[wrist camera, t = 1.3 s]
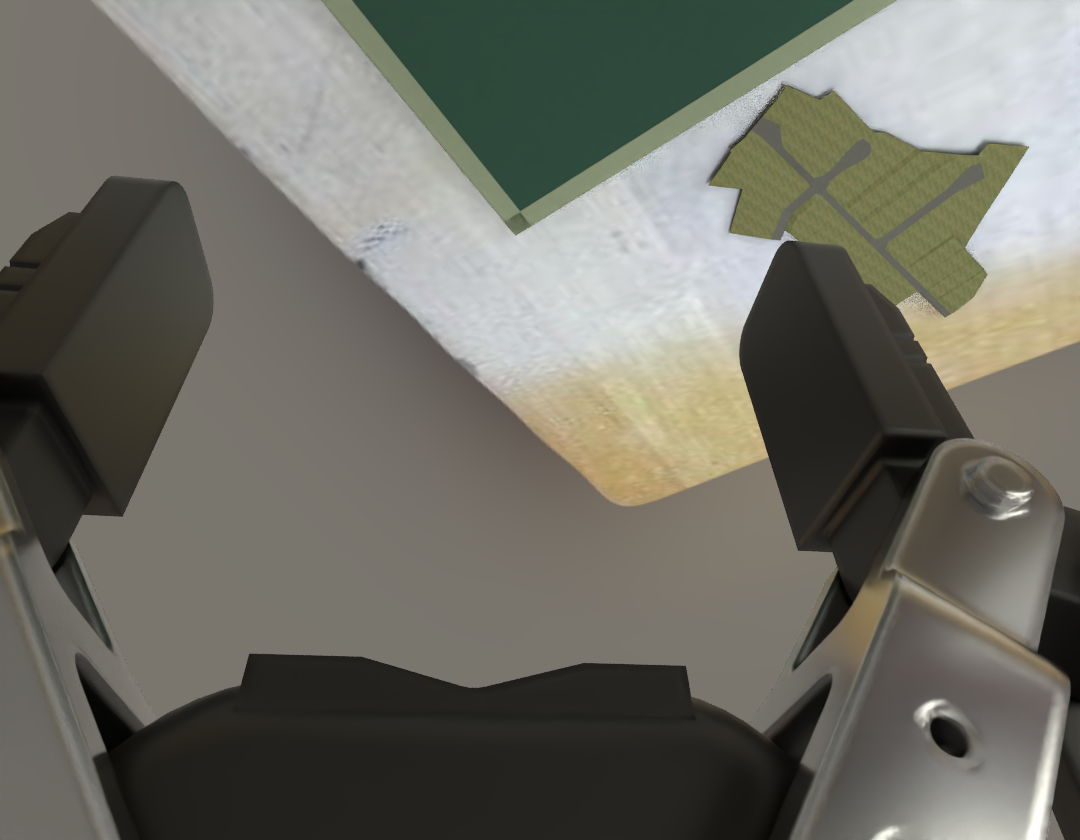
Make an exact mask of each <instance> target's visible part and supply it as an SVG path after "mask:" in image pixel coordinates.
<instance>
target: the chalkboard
mask: <svg viewBox="0 0 1080 840" xmlns="http://www.w3.org/2000/svg"><path fill="white" fill-rule="evenodd" d="M321 1H322V2H323V3H324V4H325V6H326V7H327V8H328V9H329V10H330V12H331V13H332V14H333V15H334V16H335V18H336V19H337V20H338V21H339V22H340V24H341V25H342V26H343V27H344V29H345V30H346V31H347V32H348V33H349V35H350V36H351V37H352V38H353V39H354V41H355V42H356V43H357V44H358V45H359V47H360V48H361V49H362V50H363V51H364V53H365V54H366V55H367V56H368V58H369V59H370V60H371V61H372V62H373V64H374V65H375V66H376V67H377V68H378V70H379V71H380V72H381V73H382V74H383V76H384V77H385V78H386V79H387V81H388V82H389V83H390V84H391V85H392V87H393V88H394V89H395V90H396V91H397V93H398V94H399V95H400V96H401V97H402V99H403V100H404V101H405V102H406V104H407V105H408V106H409V107H410V108H411V110H412V111H413V112H414V113H415V114H416V116H417V117H418V118H419V119H420V120H421V122H422V123H423V124H424V125H425V127H426V128H427V129H428V130H429V131H430V133H431V134H432V135H433V136H434V137H435V139H436V140H437V141H438V142H439V143H440V145H441V146H442V147H443V148H444V150H445V151H446V152H447V153H448V154H449V156H450V157H451V158H452V159H453V160H454V162H455V163H456V164H457V165H458V166H459V168H460V169H461V170H462V171H463V172H464V174H465V175H466V176H467V177H468V179H469V180H470V181H471V182H472V183H473V185H474V186H475V187H476V188H477V189H478V191H479V192H480V193H481V194H482V195H483V197H484V198H485V199H486V200H487V202H488V203H489V204H490V205H491V206H492V208H493V209H494V210H495V211H496V212H497V214H498V215H499V216H500V217H501V218H502V220H503V221H504V222H505V223H506V225H507V226H508V227H509V228H510V229H511V231H512V232H513V233H514V234H515V235H517V234H519V233H521V232H522V231H524V230H526V229H527V228H529V227H530V226H532V225H534V224H535V223H537V222H539V221H540V220H542V219H543V218H545V217H547V216H548V215H550V214H551V213H553V212H555V211H556V210H558V209H560V208H561V207H563V206H564V205H566V204H568V203H569V202H571V201H573V200H574V199H576V198H577V197H579V196H581V195H582V194H584V193H585V192H587V191H589V190H590V189H592V188H594V187H595V186H597V185H598V184H600V183H602V182H603V181H605V180H607V179H608V178H610V177H611V176H613V175H615V174H616V173H618V172H619V171H621V170H623V169H624V168H626V167H628V166H629V165H631V164H632V163H634V162H636V161H637V160H639V159H641V158H642V157H644V156H645V155H647V154H649V153H650V152H652V151H654V150H655V149H657V148H658V147H660V146H662V145H663V144H665V143H666V142H668V141H670V140H671V139H673V138H675V137H676V136H678V135H679V134H681V133H683V132H684V131H686V130H688V129H689V128H691V127H692V126H694V125H696V124H697V123H699V122H700V121H702V120H704V119H705V118H707V117H709V116H710V115H712V114H713V113H715V112H717V111H718V110H720V109H722V108H723V107H725V106H726V105H728V104H730V103H731V102H733V101H734V100H736V99H738V98H739V97H741V96H743V95H744V94H746V93H747V92H749V91H751V90H752V89H754V88H756V87H757V86H759V85H760V84H762V83H764V82H765V81H767V80H768V79H770V78H772V77H773V76H775V75H777V74H778V73H780V72H781V71H783V70H785V69H786V68H788V67H790V66H791V65H793V64H794V63H796V62H798V61H799V60H801V59H802V58H804V57H806V56H807V55H809V54H811V53H812V52H814V51H815V50H817V49H819V48H820V47H822V46H824V45H825V44H827V43H828V42H830V41H832V40H833V39H835V38H836V37H838V36H840V35H841V34H843V33H845V32H846V31H848V30H849V29H851V28H853V27H854V26H856V25H858V24H859V23H861V22H862V21H864V20H866V19H867V18H869V17H870V16H872V15H874V14H875V13H877V12H879V11H880V10H882V9H883V8H885V7H887V6H888V5H890V4H892V3H893V2H895V1H896V0H321Z"/></svg>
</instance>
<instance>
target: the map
mask: <svg viewBox="0 0 1080 840" xmlns="http://www.w3.org/2000/svg"><path fill="white" fill-rule="evenodd" d="M1028 148H1029V147H1027V146H1015V145H1002V144H988V145H987V146H986V147H985V148H984V149H983V150H982V151H981V153H980V154H979V155H957V154H948V153H938V152H922V151H921V150H919V149H917V148H915V147H913V146H911V145H909V144H907V143H905V142H903V141H901V140H899V139H897V138H895V137H894V136H892V135H890V134H887V133H885V132H878V133H874V132H873V131H872V130H871V129H870V128H869V127H868V126H867V125H866V124H865V123H864V122H863V121H862V120H861V119H860V118H859V117H858V116H857V115H856V114H855V112H854V111H853V110H852V109H851V108H850V107H849V106H848V105H847V104H846V103H845V102H844V101H843V100H842V99H841V98H840V97H839V96H838V95H837V93H836V92H835V91H833V92H832V93H830V94H829V95H827V96H825V97H824V98H822V99H821V100H819V99H817V98H814V97H812V96H810V95H807V94H805V93H803V92H800V91H798V90H795V89H793V88H791V87H788V86H786V87H785V89H784V90H783V92H782V93H781V95H780V96H779V98H778V99H777V100H776V101H775V102H774V104H773V105H772V106H771V107H770V108H769V109H768V111H767V112H766V113H765V114H764V115H763V116H762V118H761V119H760V120H759V121H758V122H757V124H756V125H755V126H754V127H753V128H752V129H751V131H750V132H749V133H748V134H747V136H746V137H745V138H744V139H743V140H742V141H741V142H739V143H738V144H737V145H736V146H735V147H734V148H733V149H731V150H730V152H732V153H731V154H730V155H729V157H728V158H727V160H726V161H725V163H724V164H723V165H722V167H721V168H720V170H719V171H718V173H717V174H716V175H715V177H714V178H713V180H712V181H711V183H710V184H709V185H708V186H717V187H726V188H735V189H743V190H742V193H741V196H740V199H739V202H738V206H737V209H736V212H735V216H734V219H733V223H732V226H731V230H730V233H733V234H740V235H746V236H752V237H759V238H765V239H772V240H781V237H782V235H783V233H784V231H787V232H788V233H790V234H791V235H792V236H793V237H794V238H796V239H797V240H798V241H800V242H810V243H821V244H832V245H840V246H842V247H843V248H845V250H846V251H847V253H848V255H849V256H850V258H851V260H852V262H853V264H854V265H855V267H856V269H857V271H858V273H859V274H860V276H861V278H862V280H863V282H864V284H872V285H873V286H874V287H875V288H876V289H877V290H878V291H879V292H880V293H882V294H883V295H884V296H885V297H886V298H887V299H888V300H889V301H891V302H892V303H893V304H894V305H897V304H898V303H900V302H901V301H903V300H905V299H906V298H908V297H909V296H911V295H912V294H914V293H915V292H917V291H918V292H919V293H920V294H921V295H922V296H923V297H924V298H926V299H927V300H928V301H929V302H930V303H931V304H932V305H933V306H934V307H935V308H936V309H937V310H938V311H939V312H940V313H941V314H942V315H943V316H944V317H947V316H948V315H950V314H951V313H953V312H955V311H956V310H958V309H959V308H960V307H962V306H963V305H964V304H966V303H967V302H968V301H969V300H971V299H972V298H973V297H974V296H975V294H976V292H977V291H978V289H979V288H980V286H981V284H982V283H983V281H984V279H985V278H986V276H987V273H986V272H985V270H984V269H983V268H982V267H981V266H980V265H979V264H978V262H977V261H976V260H975V259H974V258H973V257H972V256H971V255H970V254H969V252H968V251H967V250H966V249H965V246H966V245H967V243H968V241H969V240H970V238H971V236H972V235H973V233H974V232H975V230H976V228H977V227H978V225H979V223H980V222H981V220H982V219H983V217H984V215H985V214H986V212H987V211H988V209H989V208H990V206H991V205H992V203H993V202H994V200H995V199H996V197H997V196H998V194H999V193H1000V191H1001V190H1002V188H1003V187H1004V185H1005V184H1006V182H1007V181H1008V179H1009V178H1010V176H1011V174H1012V173H1013V171H1014V170H1015V168H1016V167H1017V165H1018V164H1019V162H1020V160H1021V159H1022V157H1023V156H1024V154H1025V153H1026V151H1027V149H1028ZM960 243H961V244H962V245H961V244H960ZM887 244H888V245H887Z"/></svg>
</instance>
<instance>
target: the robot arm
mask: <svg viewBox="0 0 1080 840" xmlns="http://www.w3.org/2000/svg"><path fill="white" fill-rule="evenodd" d="M212 314H213V288H212V282H211V278H210V274H209V271H208V267H207V263H206V260H205V256H204V253H203V249H202V246H201V242H200V238H199V235H198V231H197V228H196V224H195V221H194V217H193V213H192V210H191V206H190V203H189V200H188V197H187V194H186V192H185V190H184V189H183V187H182V186H181V185H180V184H179V183H177V182H174V181H164V180H154V179H142V178H132V177H121V176H111V177H110V178H108V179H107V180H106V181H105V182H104V183H103V185H102V186H101V187H100V189H99V190H98V191H97V192H96V194H95V195H94V196H93V197H92V199H91V200H90V201H89V203H88V204H87V205H86V206H85V208H84V209H83V210H82V212H81V213H74V212H69V213H67V214H65V215H63V216H62V217H60V218H58V219H57V220H55V221H53V222H51V223H50V224H48V225H46V226H45V227H43V228H41V229H39V230H38V231H36V232H34V233H33V234H31V236H30V237H29V238H28V239H27V240H26V242H25V243H24V244H23V245H22V247H21V248H20V249H19V250H18V251H17V252H16V254H15V255H14V256H13V257H12V258H11V260H10V267H6V266H5V267H4V268H3V269H2V270H1V272H0V840H1047V834H1048V828H1049V821H1050V816H1051V810H1053V813H1054V815H1055V817H1056V820H1057V822H1058V824H1059V827H1060V829H1061V832H1062V834H1063V837H1064V839H1065V840H1080V511H1077V510H1074V509H1071V508H1068V507H1065V506H1063V505H1062V502H1061V500H1060V497H1059V496H1058V494H1057V492H1056V491H1055V489H1054V488H1053V486H1052V485H1051V484H1050V483H1049V481H1048V480H1047V479H1046V478H1045V477H1044V476H1043V475H1042V474H1041V473H1040V472H1039V471H1038V470H1037V469H1036V468H1035V467H1033V466H1032V465H1031V464H1030V463H1028V462H1027V461H1025V460H1024V459H1022V458H1021V457H1019V456H1018V455H1016V454H1014V453H1013V452H1011V451H1009V450H1007V449H1005V448H1002V447H1000V446H998V445H995V444H992V443H989V442H986V441H982V440H977V439H974V437H973V435H972V434H971V432H970V430H969V429H968V427H967V425H966V423H965V422H964V420H963V418H962V417H961V415H960V413H959V411H958V410H957V408H956V406H955V405H954V403H953V401H952V399H951V398H950V396H949V394H948V392H947V391H946V389H945V387H944V386H943V384H942V382H941V380H940V379H939V377H938V375H937V374H936V372H935V370H934V368H933V367H932V365H931V364H929V363H926V360H927V356H926V355H925V353H924V351H923V349H922V348H921V346H920V344H919V343H918V341H914V334H913V332H912V331H911V329H910V327H909V325H908V324H907V322H906V320H905V319H904V317H903V315H902V313H901V312H900V310H899V309H898V308H897V307H896V306H895V305H894V304H893V303H892V302H891V301H889V300H888V299H887V298H886V297H885V296H884V295H883V294H882V293H880V292H879V291H878V290H877V289H876V288H875V287H874V286H873V285H872V284H864V282H863V280H862V278H861V276H860V274H859V273H858V271H857V269H856V267H855V265H854V264H853V262H852V260H851V258H850V256H849V255H848V253H847V251H846V250H845V248H843V247H842V246H840V245H832V244H821V243H810V242H800V241H786V242H784V243H783V244H782V245H781V246H780V247H779V249H778V250H777V252H776V254H775V256H774V258H773V260H772V262H771V265H770V267H769V269H768V272H767V274H766V276H765V279H764V281H763V283H762V286H761V288H760V290H759V292H758V295H757V297H756V299H755V302H754V304H753V306H752V309H751V311H750V313H749V316H748V318H747V320H746V322H745V325H744V328H743V331H742V335H741V340H740V350H739V357H740V366H741V370H742V373H743V376H744V379H745V382H746V386H747V389H748V392H749V395H750V398H751V402H752V405H753V408H754V411H755V414H756V418H757V421H758V424H759V427H760V430H761V434H762V437H763V440H764V443H765V446H766V450H767V453H768V456H769V459H770V462H771V465H772V468H773V472H774V475H775V478H776V481H777V485H778V488H779V491H780V494H781V497H782V500H783V504H784V507H785V510H786V513H787V517H788V520H789V523H790V526H791V529H792V533H793V536H794V539H795V542H796V545H797V549H798V551H819V552H833V555H834V558H835V561H836V564H837V567H836V568H835V569H834V571H833V572H832V573H831V574H830V576H829V577H828V579H827V580H826V582H825V584H824V586H823V588H822V590H821V592H820V594H819V596H818V598H817V600H816V603H815V604H814V607H813V609H812V611H811V613H810V615H809V617H808V619H807V621H806V623H805V625H804V627H803V629H802V631H801V633H800V635H799V637H798V639H797V641H796V643H795V645H794V647H793V649H792V652H791V653H790V656H789V657H788V659H787V661H786V663H785V666H784V668H783V670H782V672H781V674H780V676H779V678H778V680H777V682H776V683H775V685H774V687H773V688H772V690H771V692H770V694H769V695H768V697H767V698H766V699H765V701H764V702H763V704H762V705H761V706H760V708H759V709H758V711H757V712H756V714H755V716H754V717H753V719H752V720H751V722H750V723H749V724H748V723H746V722H744V721H743V720H741V719H739V718H737V717H736V716H734V715H732V714H730V713H729V712H727V711H725V710H723V709H721V708H719V707H716V706H714V705H712V704H709V703H707V702H705V701H703V700H700V699H697V698H694V697H691V694H690V688H689V682H688V676H687V670H686V666H668V665H634V664H630V665H629V664H598V663H582V664H578V665H574V666H570V667H566V668H561V669H557V670H553V671H549V672H545V673H541V674H536V675H532V676H529V677H524V678H520V679H516V680H511V681H507V682H503V683H499V684H495V685H491V686H487V687H482V688H468V687H463V686H459V685H456V684H452V683H449V682H445V681H442V680H439V679H435V678H432V677H428V676H425V675H422V674H418V673H415V672H411V671H408V670H405V669H401V668H398V667H395V666H391V665H388V664H384V663H381V662H378V661H374V660H371V659H367V658H363V657H348V656H313V655H277V654H276V655H275V654H249V657H248V661H247V664H246V668H245V672H244V676H243V679H242V684H241V685H240V686H236V687H232V688H228V689H224V690H222V691H219V692H216V693H213V694H210V695H208V696H205V697H202V698H199V699H196V700H194V701H192V702H190V703H188V704H186V705H184V706H182V707H180V708H178V709H175V710H173V711H171V712H169V713H167V714H165V715H164V716H162V717H160V718H159V719H157V718H156V717H155V714H154V712H153V710H152V709H151V707H150V705H149V703H148V701H147V699H146V698H145V696H144V694H143V692H142V691H141V689H140V687H139V686H138V684H137V682H136V680H135V679H134V677H133V675H132V673H131V671H130V669H129V667H128V665H127V662H126V660H125V658H124V656H123V653H122V651H121V649H120V646H119V644H118V642H117V639H116V637H115V635H114V632H113V630H112V627H111V625H110V623H109V620H108V618H107V616H106V613H105V611H104V609H103V606H102V604H101V602H100V599H99V597H98V595H97V592H96V590H95V588H94V585H93V583H92V580H91V578H90V576H89V573H88V571H87V569H86V566H85V564H84V562H83V559H82V557H81V555H80V552H79V550H78V548H77V546H76V545H75V543H74V541H73V540H72V539H71V536H72V534H73V532H74V530H75V528H76V526H77V524H78V522H79V520H80V518H81V516H82V515H100V516H123V514H124V512H125V510H126V508H127V506H128V503H129V501H130V499H131V497H132V495H133V492H134V490H135V488H136V486H137V483H138V481H139V479H140V477H141V475H142V473H143V471H144V468H145V466H146V464H147V462H148V460H149V457H150V455H151V453H152V451H153V449H154V446H155V444H156V442H157V440H158V438H159V436H160V433H161V431H162V429H163V427H164V425H165V422H166V420H167V418H168V416H169V414H170V412H171V409H172V407H173V405H174V403H175V400H176V398H177V396H178V394H179V392H180V390H181V387H182V385H183V383H184V381H185V379H186V376H187V374H188V372H189V370H190V367H191V366H192V363H193V361H194V359H195V357H196V355H197V352H198V350H199V348H200V346H201V344H202V341H203V339H204V337H205V335H206V333H207V331H208V328H209V326H210V322H211V319H212Z"/></svg>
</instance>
